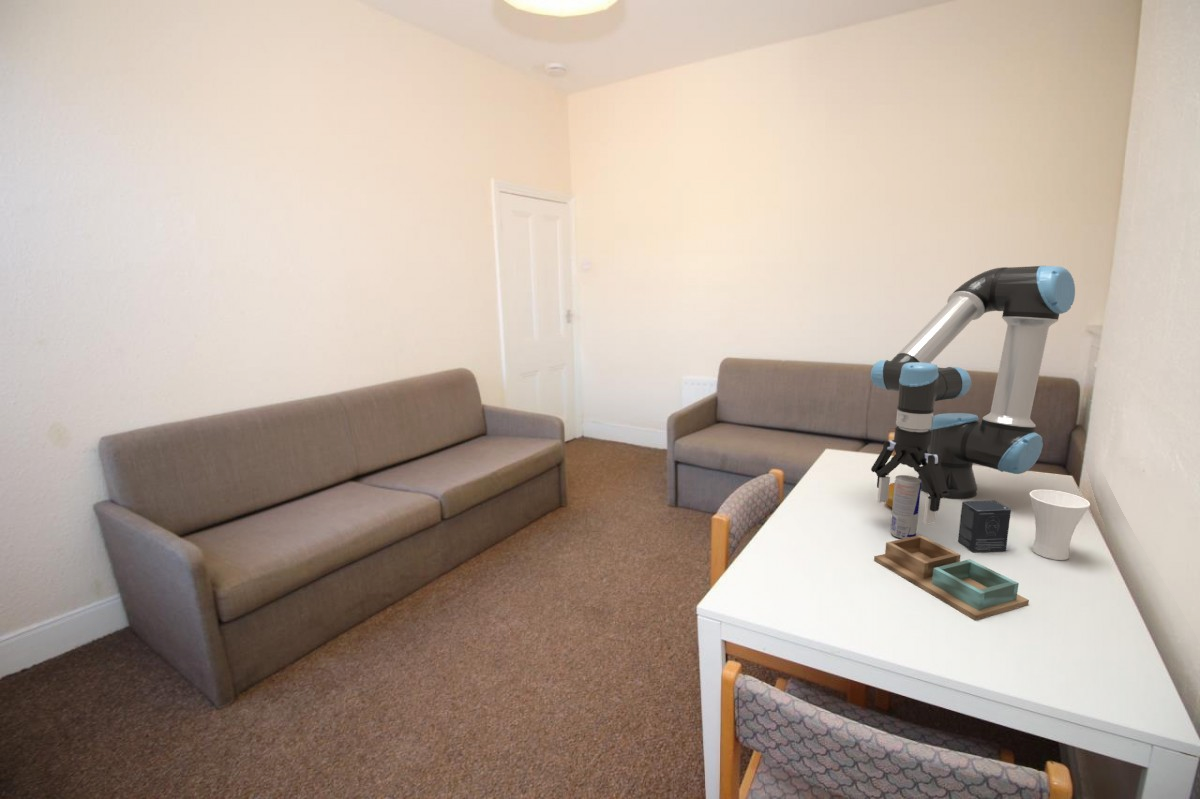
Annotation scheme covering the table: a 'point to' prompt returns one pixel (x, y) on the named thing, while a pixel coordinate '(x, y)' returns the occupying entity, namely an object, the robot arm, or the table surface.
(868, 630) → the table surface
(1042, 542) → the cup
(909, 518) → the beverage can
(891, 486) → the fruit
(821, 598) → the table surface
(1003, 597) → the socket board
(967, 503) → the box
